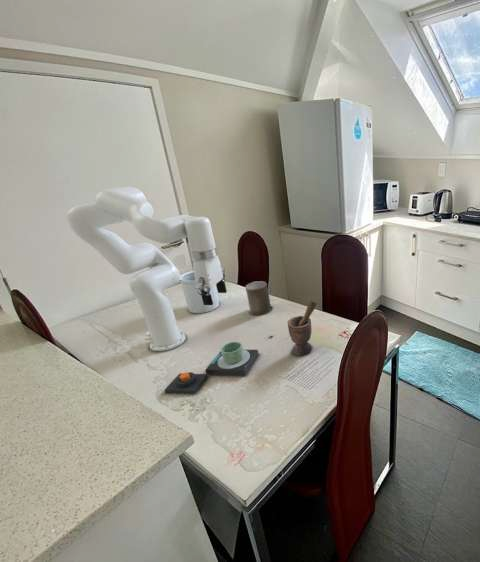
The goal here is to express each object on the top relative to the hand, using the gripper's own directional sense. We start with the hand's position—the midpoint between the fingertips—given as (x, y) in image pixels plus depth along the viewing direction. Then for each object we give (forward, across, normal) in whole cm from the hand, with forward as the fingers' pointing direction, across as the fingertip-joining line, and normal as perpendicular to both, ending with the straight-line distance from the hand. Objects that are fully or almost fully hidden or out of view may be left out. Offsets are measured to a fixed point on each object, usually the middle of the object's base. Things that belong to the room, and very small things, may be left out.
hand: (215, 298), depth 113 cm
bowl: (+20, +8, +7) cm, 23 cm away
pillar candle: (+24, -33, 0) cm, 41 cm away
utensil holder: (+24, -36, -30) cm, 52 cm away
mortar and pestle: (+24, -3, +30) cm, 38 cm away
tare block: (+23, +19, -5) cm, 30 cm away
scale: (+23, +8, +6) cm, 25 cm away
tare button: (+21, +19, -5) cm, 29 cm away
